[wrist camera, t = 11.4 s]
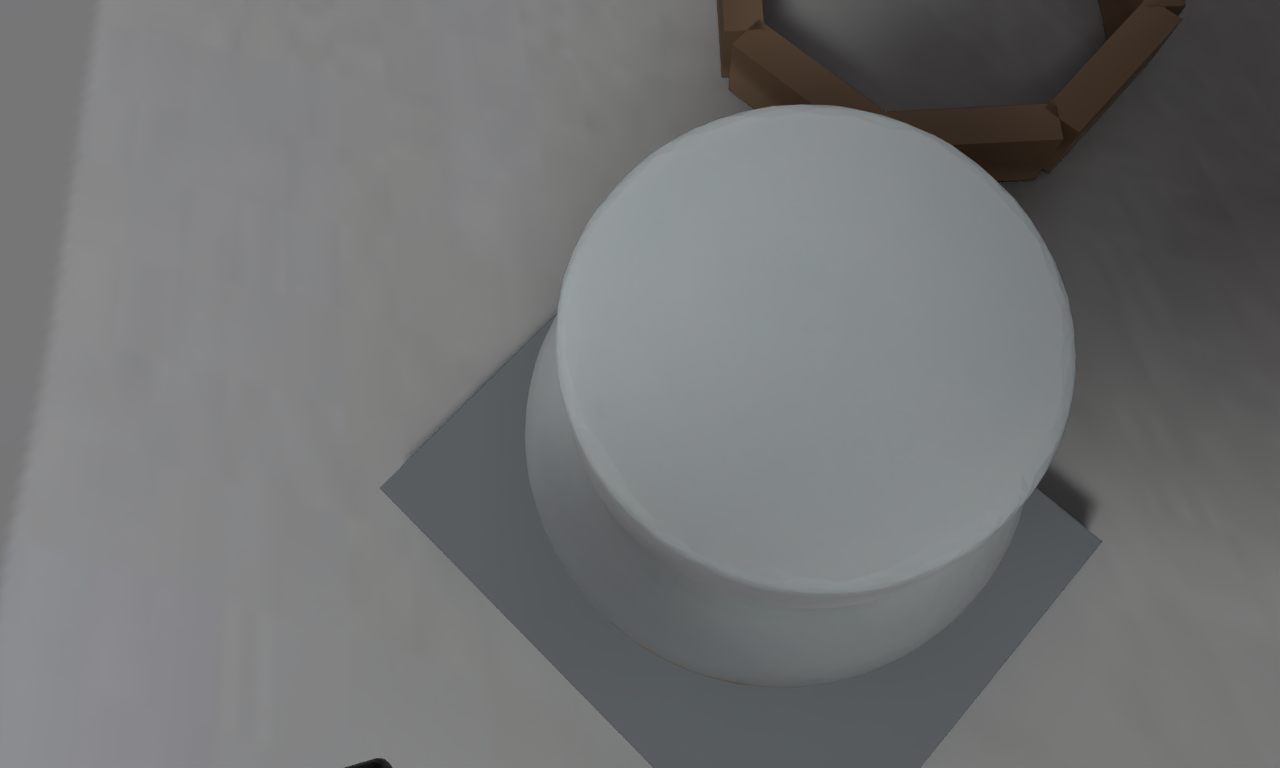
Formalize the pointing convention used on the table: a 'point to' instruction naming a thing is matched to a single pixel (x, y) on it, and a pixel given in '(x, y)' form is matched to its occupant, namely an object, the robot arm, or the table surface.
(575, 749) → the table surface
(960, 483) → the supplement bottle
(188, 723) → the table surface
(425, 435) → the table surface
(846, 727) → the mat
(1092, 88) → the collar
